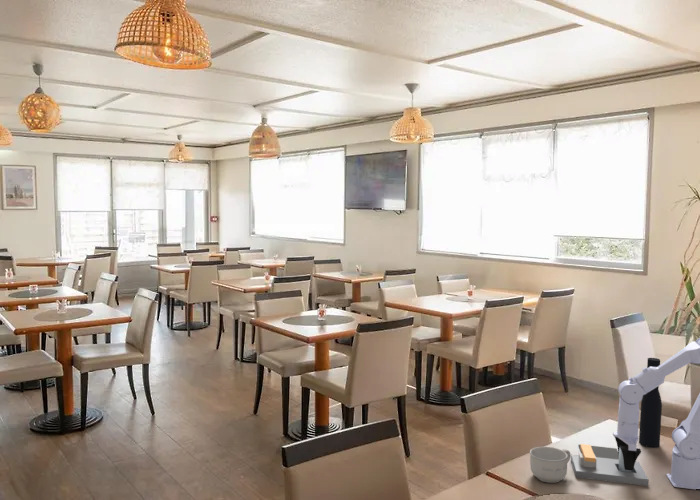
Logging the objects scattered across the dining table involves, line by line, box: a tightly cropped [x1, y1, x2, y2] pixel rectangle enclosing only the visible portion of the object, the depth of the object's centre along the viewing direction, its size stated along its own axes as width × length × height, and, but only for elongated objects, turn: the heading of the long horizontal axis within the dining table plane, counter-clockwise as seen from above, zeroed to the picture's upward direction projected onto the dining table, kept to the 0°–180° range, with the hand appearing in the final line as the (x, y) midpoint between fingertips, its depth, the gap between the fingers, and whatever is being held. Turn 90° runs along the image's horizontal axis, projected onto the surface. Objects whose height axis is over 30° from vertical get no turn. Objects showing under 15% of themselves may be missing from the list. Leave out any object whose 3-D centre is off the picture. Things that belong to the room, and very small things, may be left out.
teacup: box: [529, 446, 571, 484], centre depth 173 cm, size 14×11×8 cm
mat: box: [578, 443, 619, 460], centre depth 190 cm, size 12×12×1 cm
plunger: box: [579, 443, 596, 462], centre depth 178 cm, size 3×10×4 cm, turn 166°
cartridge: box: [618, 448, 633, 473], centre depth 175 cm, size 4×4×8 cm
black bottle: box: [638, 357, 663, 449], centre depth 198 cm, size 6×6×30 cm
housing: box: [570, 452, 650, 487], centre depth 177 cm, size 20×12×5 cm, turn 76°
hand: (625, 464), depth 176 cm, fingers open, 7 cm apart
